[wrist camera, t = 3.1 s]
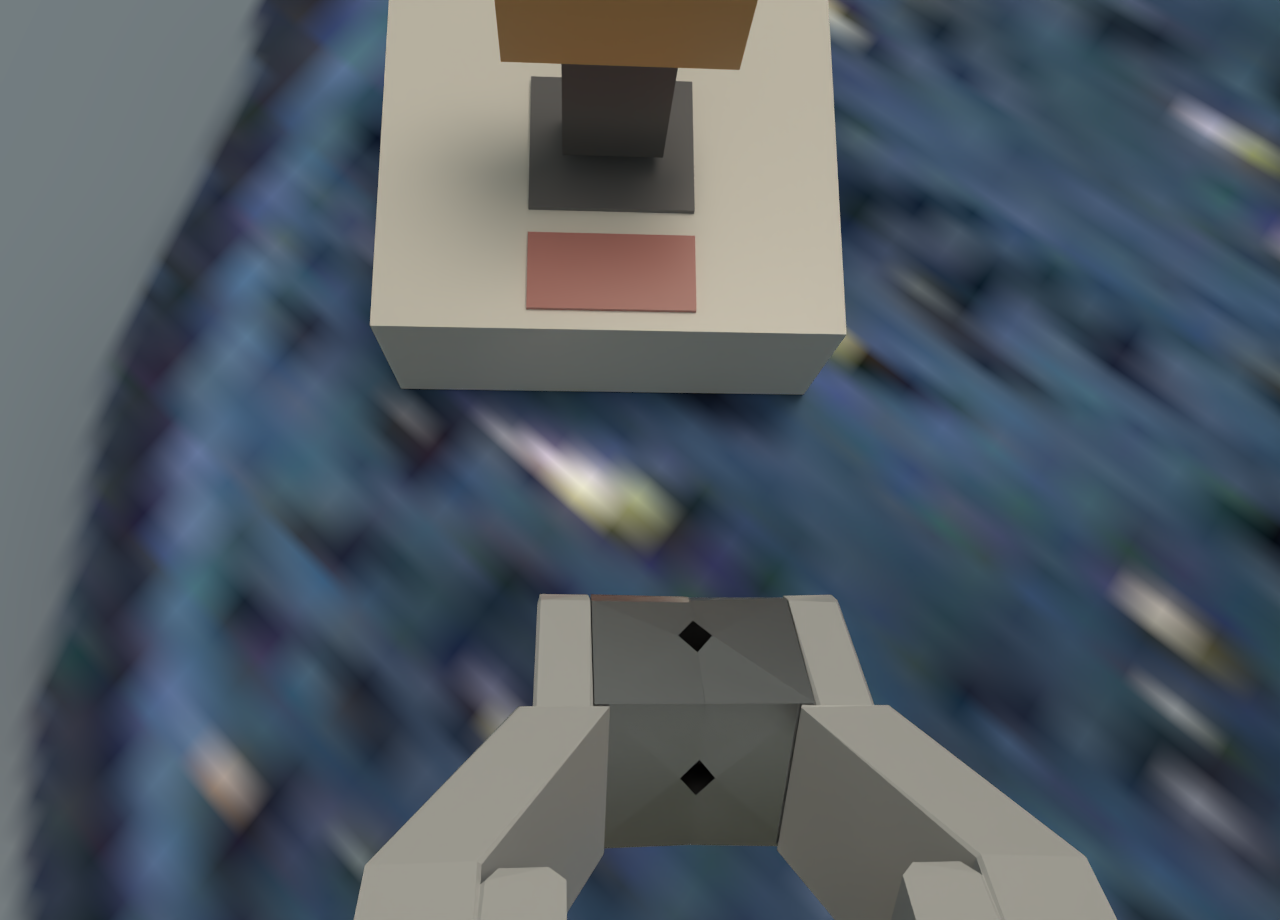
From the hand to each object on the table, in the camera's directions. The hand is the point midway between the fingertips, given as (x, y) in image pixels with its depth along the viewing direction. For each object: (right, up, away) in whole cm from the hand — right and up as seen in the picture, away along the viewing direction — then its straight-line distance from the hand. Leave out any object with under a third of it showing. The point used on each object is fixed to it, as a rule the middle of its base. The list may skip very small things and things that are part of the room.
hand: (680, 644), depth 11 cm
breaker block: (-2, +10, +28) cm, 30 cm away
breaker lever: (-1, +12, +21) cm, 24 cm away
